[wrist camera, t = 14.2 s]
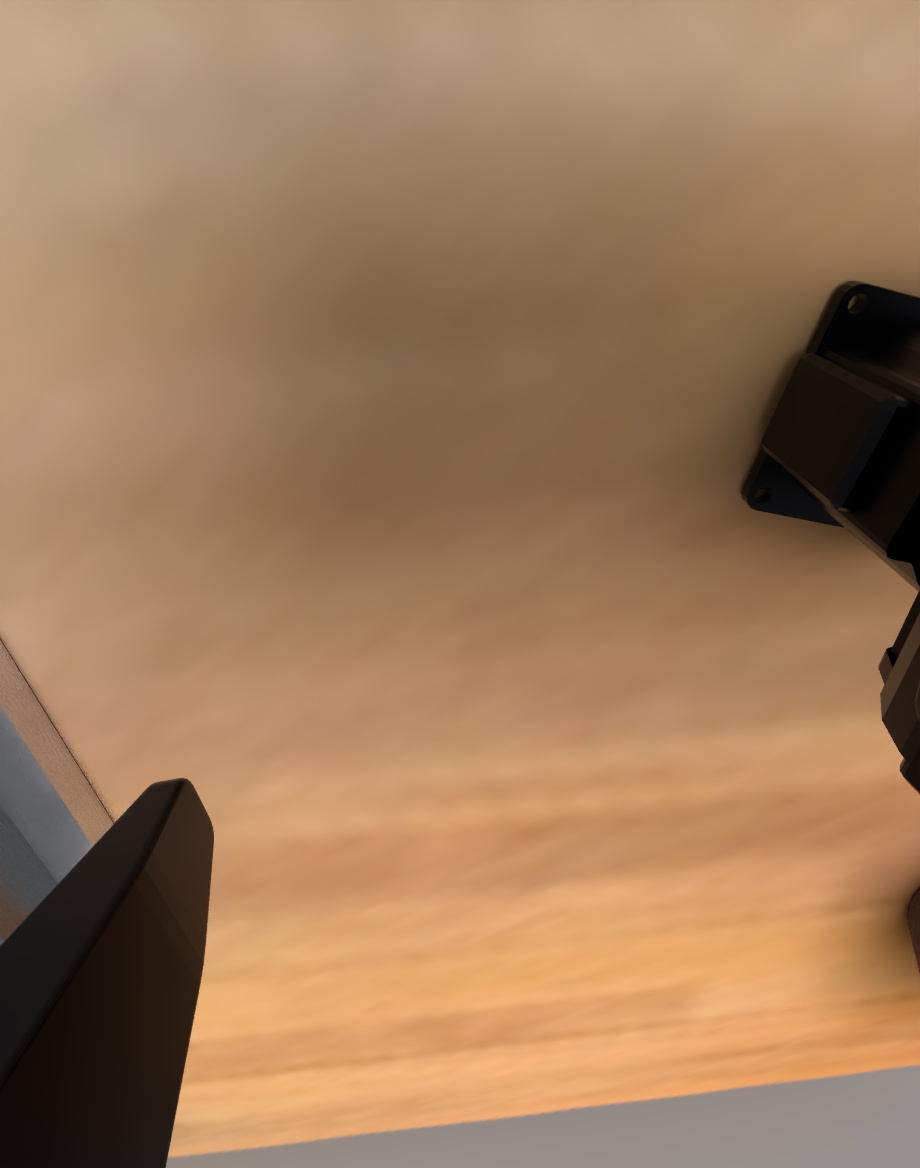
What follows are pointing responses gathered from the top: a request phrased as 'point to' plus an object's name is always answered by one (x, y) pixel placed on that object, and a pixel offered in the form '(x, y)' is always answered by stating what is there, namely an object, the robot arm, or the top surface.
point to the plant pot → (915, 925)
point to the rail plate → (37, 803)
